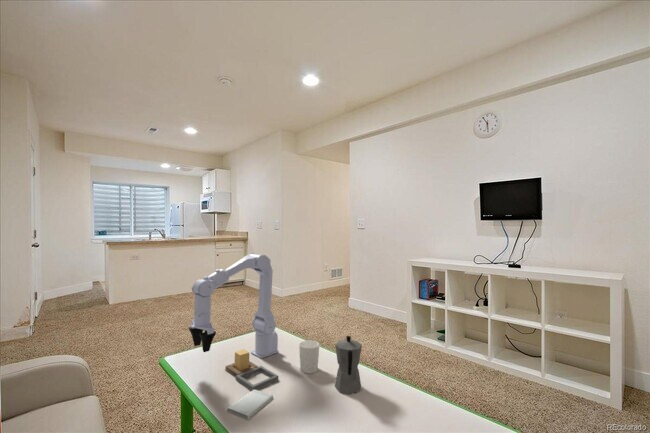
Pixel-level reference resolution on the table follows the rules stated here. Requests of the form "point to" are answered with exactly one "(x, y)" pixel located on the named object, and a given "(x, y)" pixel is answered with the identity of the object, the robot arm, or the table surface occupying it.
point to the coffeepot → (348, 366)
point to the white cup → (309, 356)
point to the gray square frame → (261, 384)
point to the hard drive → (250, 404)
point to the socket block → (235, 372)
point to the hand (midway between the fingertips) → (201, 348)
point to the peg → (241, 360)
